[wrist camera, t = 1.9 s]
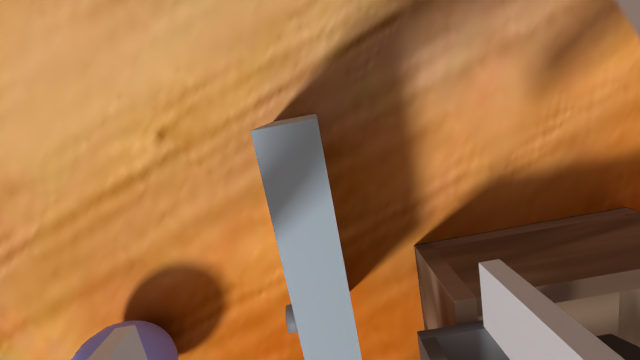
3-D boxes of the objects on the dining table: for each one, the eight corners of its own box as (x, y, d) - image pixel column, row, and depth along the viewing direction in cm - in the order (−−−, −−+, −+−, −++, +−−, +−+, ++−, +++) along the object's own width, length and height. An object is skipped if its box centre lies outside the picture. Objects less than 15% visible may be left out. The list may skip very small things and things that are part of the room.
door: (260, 123, 22) (230, 134, 14) (316, 113, 22) (317, 118, 14) (300, 299, 25) (294, 388, 17) (349, 291, 25) (364, 376, 17)
